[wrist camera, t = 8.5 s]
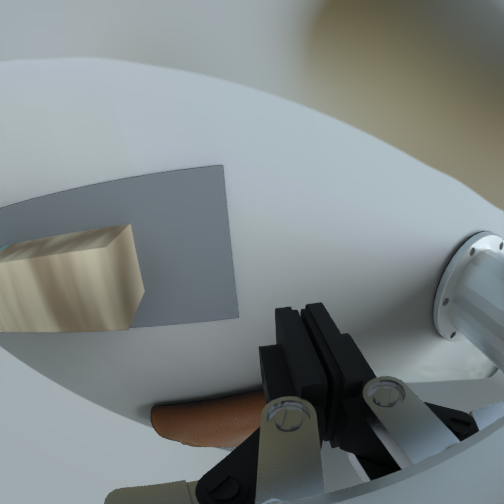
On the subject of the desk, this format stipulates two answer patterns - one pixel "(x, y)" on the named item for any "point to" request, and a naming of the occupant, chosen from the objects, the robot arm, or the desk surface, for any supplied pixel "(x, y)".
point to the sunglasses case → (211, 420)
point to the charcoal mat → (151, 237)
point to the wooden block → (71, 282)
